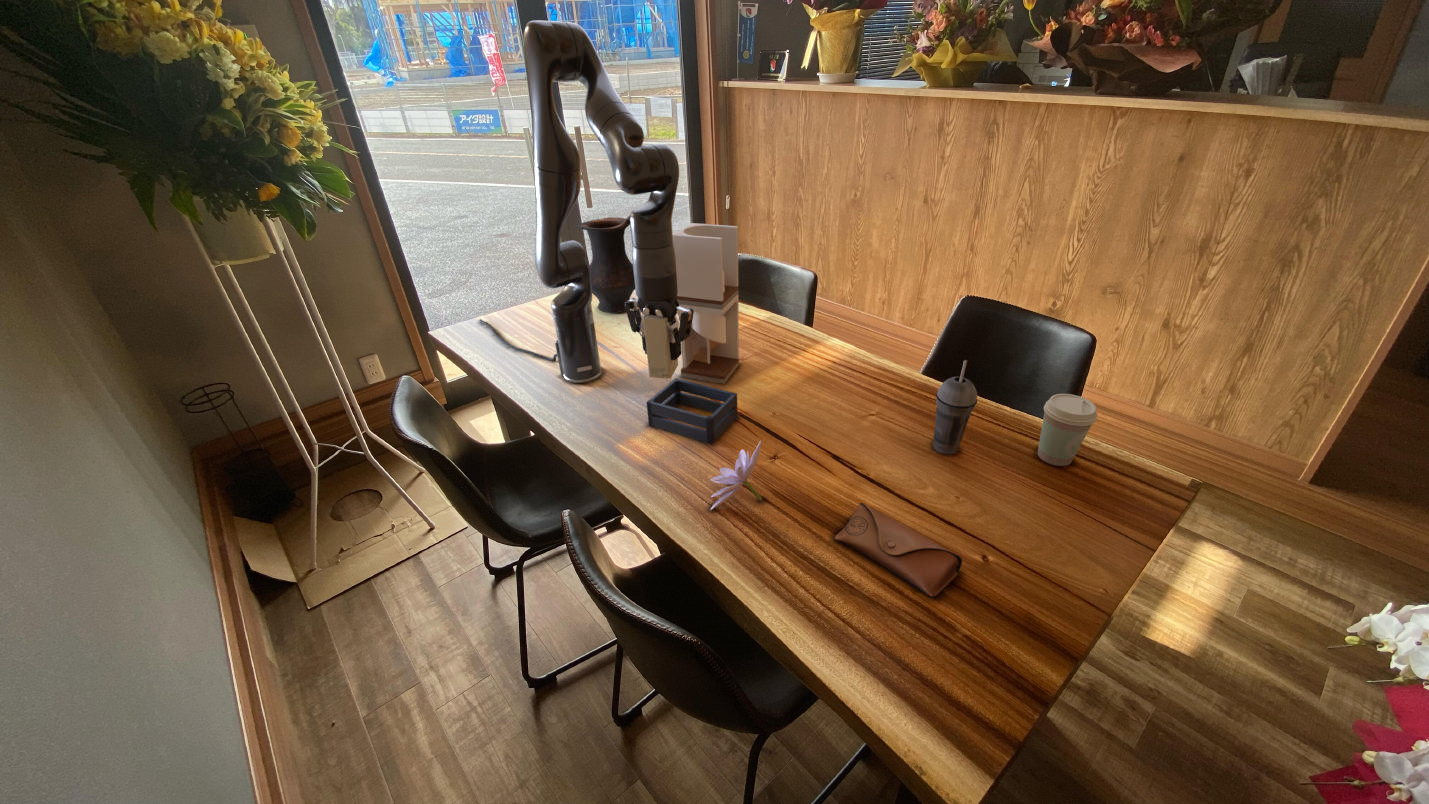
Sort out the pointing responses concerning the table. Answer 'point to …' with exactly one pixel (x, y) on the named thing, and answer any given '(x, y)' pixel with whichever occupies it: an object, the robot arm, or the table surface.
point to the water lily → (736, 476)
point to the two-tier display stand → (709, 299)
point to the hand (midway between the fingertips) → (662, 355)
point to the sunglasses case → (900, 550)
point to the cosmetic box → (658, 347)
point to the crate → (712, 424)
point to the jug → (610, 263)
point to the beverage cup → (953, 412)
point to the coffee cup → (1065, 427)
